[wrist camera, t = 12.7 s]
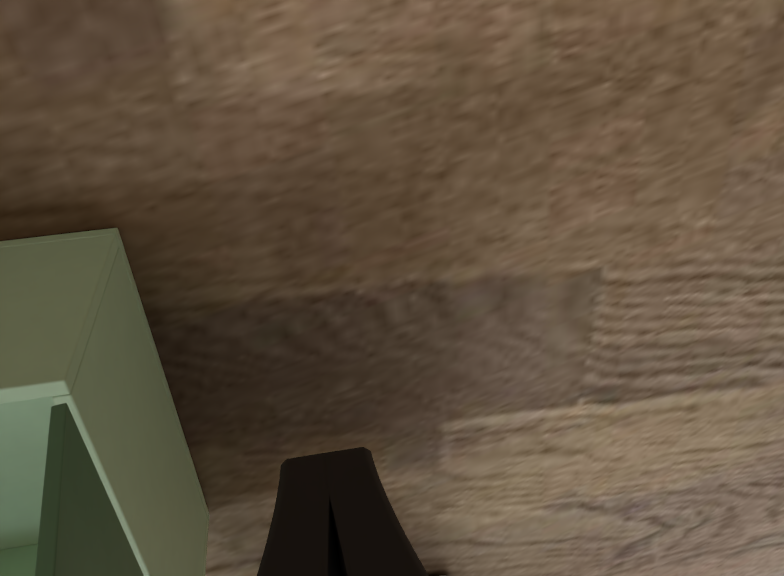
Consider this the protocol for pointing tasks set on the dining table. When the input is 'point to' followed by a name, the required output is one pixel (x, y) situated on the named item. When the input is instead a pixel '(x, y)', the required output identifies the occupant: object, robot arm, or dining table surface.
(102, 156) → the dining table surface
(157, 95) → the dining table surface
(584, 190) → the dining table surface
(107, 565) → the flap
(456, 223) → the dining table surface
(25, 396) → the light green open box
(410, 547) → the robot arm
